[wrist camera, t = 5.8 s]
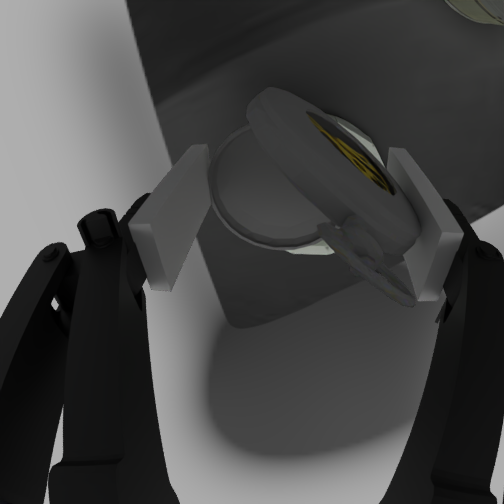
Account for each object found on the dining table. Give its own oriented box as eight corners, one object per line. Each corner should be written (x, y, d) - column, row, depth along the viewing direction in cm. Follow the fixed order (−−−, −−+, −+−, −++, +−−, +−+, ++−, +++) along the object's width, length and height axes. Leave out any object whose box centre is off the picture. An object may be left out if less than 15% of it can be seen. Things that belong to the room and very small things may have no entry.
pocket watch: (216, 232, 17) (153, 407, 9) (208, 72, 12) (46, 165, 4) (367, 247, 16) (395, 430, 9) (400, 90, 11) (554, 216, 3)
